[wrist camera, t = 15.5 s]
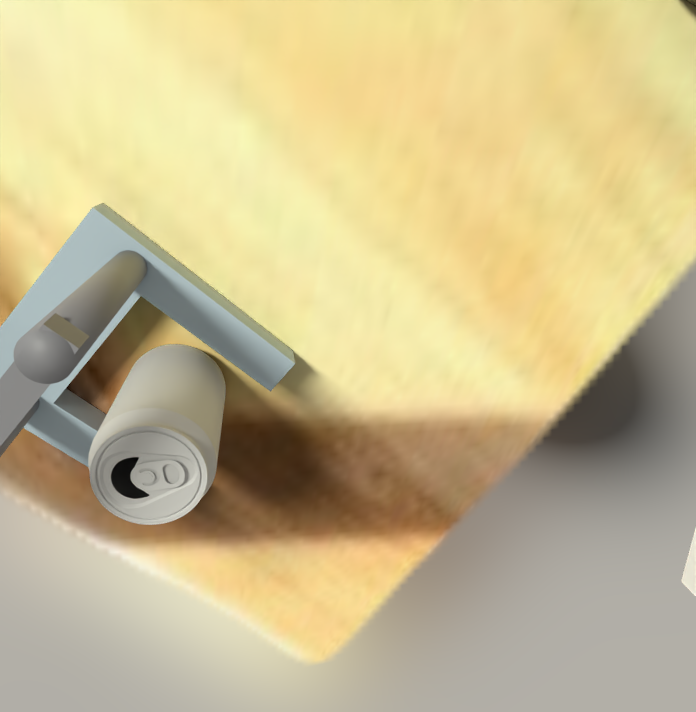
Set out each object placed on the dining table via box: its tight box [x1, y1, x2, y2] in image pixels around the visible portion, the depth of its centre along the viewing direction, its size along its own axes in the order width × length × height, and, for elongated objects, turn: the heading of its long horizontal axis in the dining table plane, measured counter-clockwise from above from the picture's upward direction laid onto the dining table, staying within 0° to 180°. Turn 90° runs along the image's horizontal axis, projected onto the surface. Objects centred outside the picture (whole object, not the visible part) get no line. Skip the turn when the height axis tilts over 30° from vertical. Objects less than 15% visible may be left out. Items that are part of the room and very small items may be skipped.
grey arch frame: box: [0, 203, 295, 467], centre depth 32 cm, size 15×14×18 cm
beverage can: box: [88, 344, 226, 525], centre depth 35 cm, size 6×6×12 cm
